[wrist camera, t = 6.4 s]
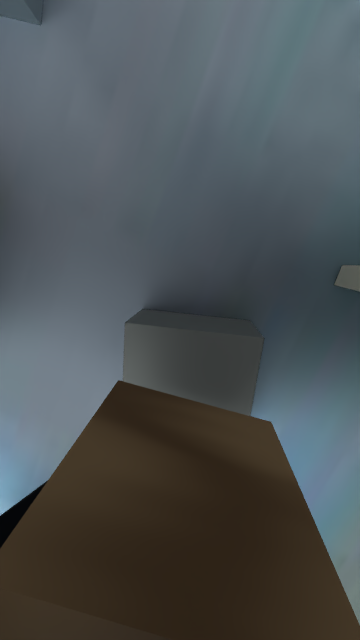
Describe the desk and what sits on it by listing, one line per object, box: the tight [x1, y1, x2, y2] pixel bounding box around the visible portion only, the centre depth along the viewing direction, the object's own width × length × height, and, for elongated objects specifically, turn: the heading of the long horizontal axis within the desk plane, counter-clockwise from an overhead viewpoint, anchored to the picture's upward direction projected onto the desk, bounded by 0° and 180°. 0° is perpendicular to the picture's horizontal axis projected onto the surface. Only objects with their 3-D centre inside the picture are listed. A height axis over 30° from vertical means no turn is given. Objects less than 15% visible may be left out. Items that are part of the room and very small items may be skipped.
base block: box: [123, 309, 264, 416], centre depth 15 cm, size 7×7×4 cm
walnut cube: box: [0, 380, 360, 640], centre depth 6 cm, size 5×5×5 cm
